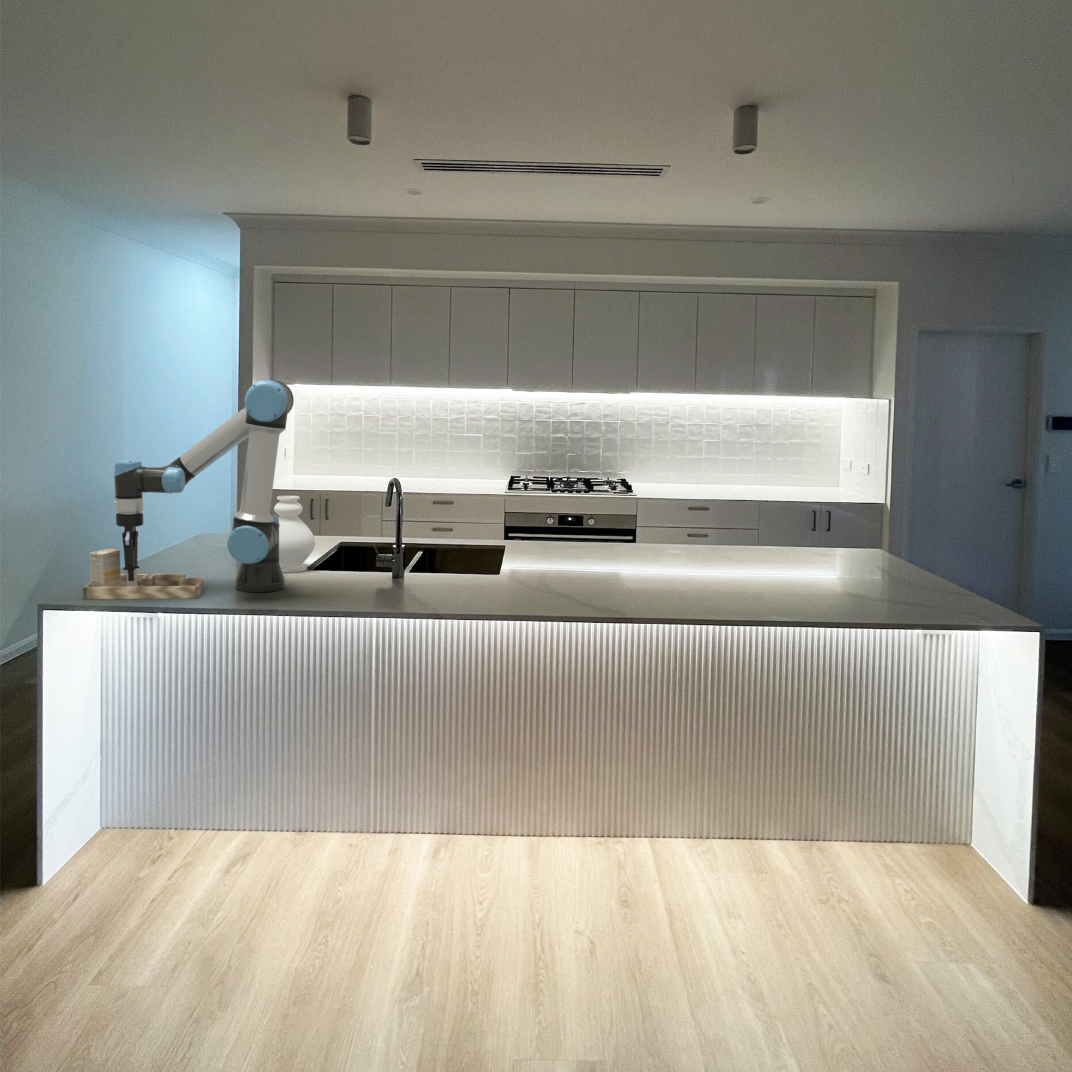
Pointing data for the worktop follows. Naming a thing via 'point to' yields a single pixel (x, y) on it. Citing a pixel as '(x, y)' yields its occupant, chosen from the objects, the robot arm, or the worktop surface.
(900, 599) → the worktop surface
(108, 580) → the supplement box
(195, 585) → the tray
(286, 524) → the decorative vase
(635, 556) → the worktop surface
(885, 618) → the worktop surface
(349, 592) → the worktop surface
